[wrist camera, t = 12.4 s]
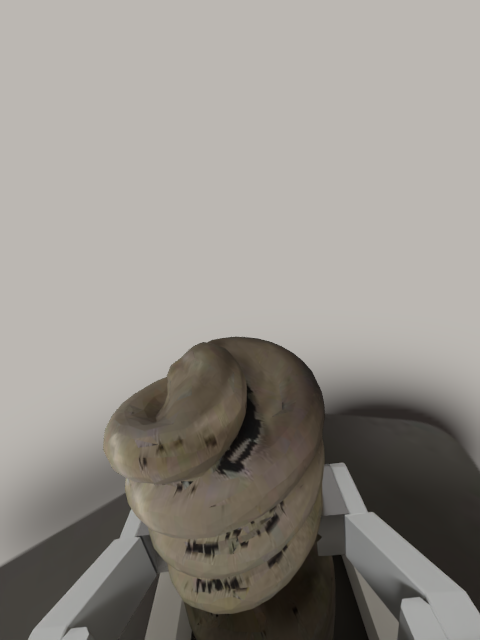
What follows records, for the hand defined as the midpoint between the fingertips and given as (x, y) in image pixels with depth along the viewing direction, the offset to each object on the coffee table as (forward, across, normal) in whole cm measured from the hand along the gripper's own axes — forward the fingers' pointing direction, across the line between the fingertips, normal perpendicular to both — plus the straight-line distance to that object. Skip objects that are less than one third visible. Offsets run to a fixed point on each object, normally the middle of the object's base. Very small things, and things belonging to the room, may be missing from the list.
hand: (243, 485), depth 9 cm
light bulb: (-1, 0, +9) cm, 9 cm away
